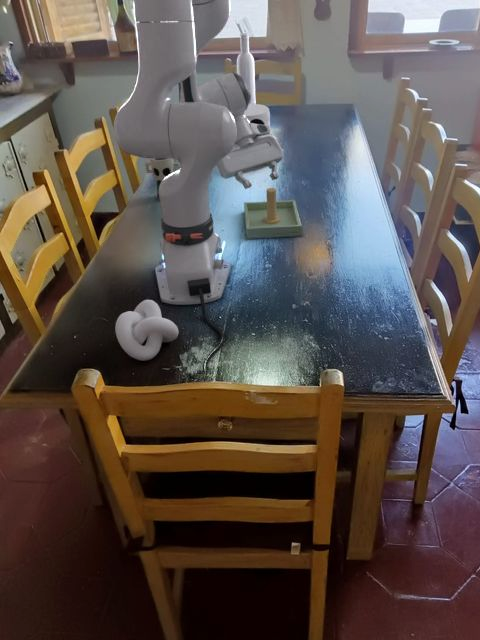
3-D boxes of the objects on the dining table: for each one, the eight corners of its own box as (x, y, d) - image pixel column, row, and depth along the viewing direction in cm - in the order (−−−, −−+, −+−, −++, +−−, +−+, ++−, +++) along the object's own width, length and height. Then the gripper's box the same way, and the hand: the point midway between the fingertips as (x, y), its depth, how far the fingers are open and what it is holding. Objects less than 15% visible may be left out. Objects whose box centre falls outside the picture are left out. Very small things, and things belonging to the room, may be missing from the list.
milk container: (265, 152, 196) (264, 100, 184) (278, 168, 183) (278, 113, 171) (220, 157, 192) (216, 105, 181) (230, 174, 179) (226, 119, 168)
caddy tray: (301, 235, 143) (302, 201, 137) (246, 238, 143) (244, 204, 136) (294, 209, 156) (295, 176, 150) (244, 212, 156) (242, 179, 150)
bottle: (249, 105, 247) (246, 31, 228) (259, 108, 242) (257, 33, 223) (235, 108, 243) (231, 33, 224) (245, 111, 238) (242, 36, 219)
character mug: (148, 202, 163) (140, 160, 155) (153, 193, 169) (146, 152, 161) (182, 202, 163) (177, 160, 155) (186, 192, 168) (181, 152, 160)
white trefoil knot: (185, 329, 111) (180, 294, 106) (175, 367, 102) (168, 330, 97) (133, 329, 112) (125, 294, 107) (118, 366, 103) (108, 329, 97)
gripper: (212, 140, 138) (235, 187, 138) (273, 124, 147) (295, 168, 147) (204, 153, 143) (227, 198, 143) (264, 137, 152) (285, 179, 153)
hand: (262, 183), depth 145 cm, fingers open, 8 cm apart
